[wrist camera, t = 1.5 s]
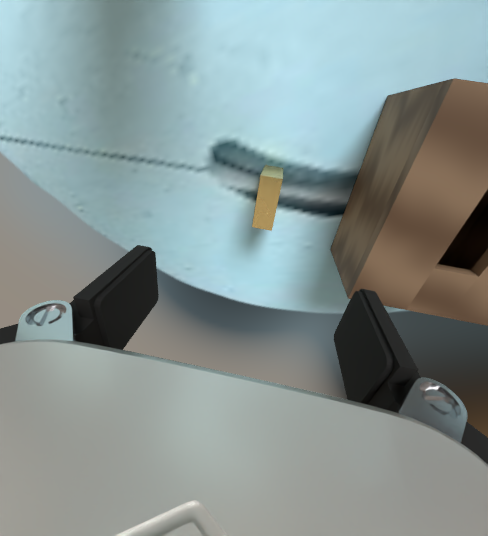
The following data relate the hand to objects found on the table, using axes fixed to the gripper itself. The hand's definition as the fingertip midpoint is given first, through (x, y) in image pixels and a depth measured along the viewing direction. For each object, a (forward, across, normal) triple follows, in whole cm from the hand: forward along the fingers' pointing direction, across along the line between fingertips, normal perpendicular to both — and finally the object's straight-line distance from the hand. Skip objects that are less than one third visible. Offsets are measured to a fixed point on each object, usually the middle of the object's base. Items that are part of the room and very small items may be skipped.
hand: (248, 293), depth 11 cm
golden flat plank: (+20, 0, 0) cm, 20 cm away
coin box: (+20, -16, -2) cm, 25 cm away
